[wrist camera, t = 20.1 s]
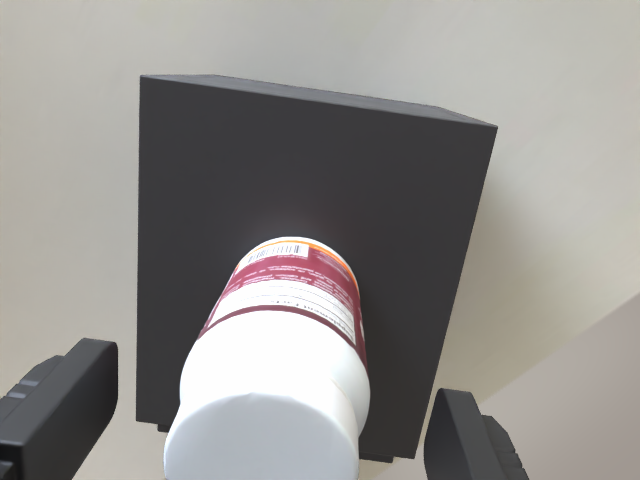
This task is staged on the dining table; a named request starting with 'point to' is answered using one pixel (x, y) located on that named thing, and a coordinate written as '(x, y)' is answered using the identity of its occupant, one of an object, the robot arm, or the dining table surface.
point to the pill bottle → (276, 373)
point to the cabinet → (304, 223)
